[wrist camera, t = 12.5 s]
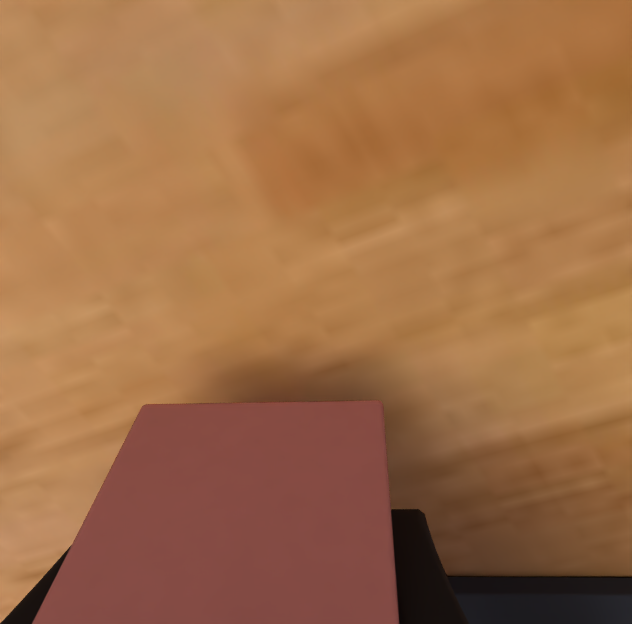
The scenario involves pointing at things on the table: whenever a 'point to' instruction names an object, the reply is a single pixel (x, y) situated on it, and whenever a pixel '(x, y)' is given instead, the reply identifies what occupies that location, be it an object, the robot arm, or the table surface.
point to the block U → (238, 521)
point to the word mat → (544, 600)
